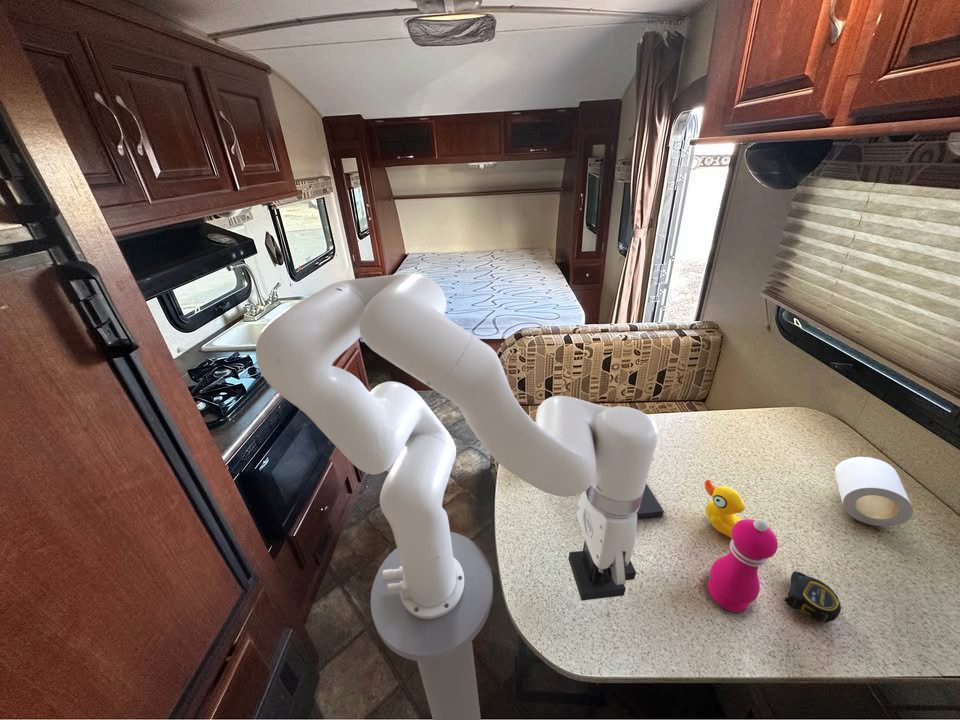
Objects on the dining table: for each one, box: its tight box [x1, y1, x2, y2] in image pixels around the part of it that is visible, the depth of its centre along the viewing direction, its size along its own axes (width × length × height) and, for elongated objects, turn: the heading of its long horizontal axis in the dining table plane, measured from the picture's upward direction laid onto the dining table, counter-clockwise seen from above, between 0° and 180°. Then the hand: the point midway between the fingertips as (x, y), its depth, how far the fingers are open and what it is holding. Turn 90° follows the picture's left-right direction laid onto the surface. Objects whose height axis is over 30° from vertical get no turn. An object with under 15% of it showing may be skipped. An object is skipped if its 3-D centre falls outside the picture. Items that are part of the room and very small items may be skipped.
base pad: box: [636, 483, 665, 521], centre depth 87 cm, size 14×14×2 cm
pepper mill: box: [707, 518, 779, 613], centre depth 62 cm, size 7×7×20 cm
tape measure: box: [783, 571, 842, 623], centre depth 64 cm, size 7×7×4 cm
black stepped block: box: [567, 542, 637, 602], centre depth 60 cm, size 10×7×8 cm
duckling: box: [704, 479, 746, 539], centre depth 77 cm, size 11×5×10 cm, turn 25°
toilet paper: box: [834, 456, 914, 528], centre depth 80 cm, size 10×10×10 cm
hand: (596, 566), depth 61 cm, fingers closed on black stepped block, 3 cm apart
